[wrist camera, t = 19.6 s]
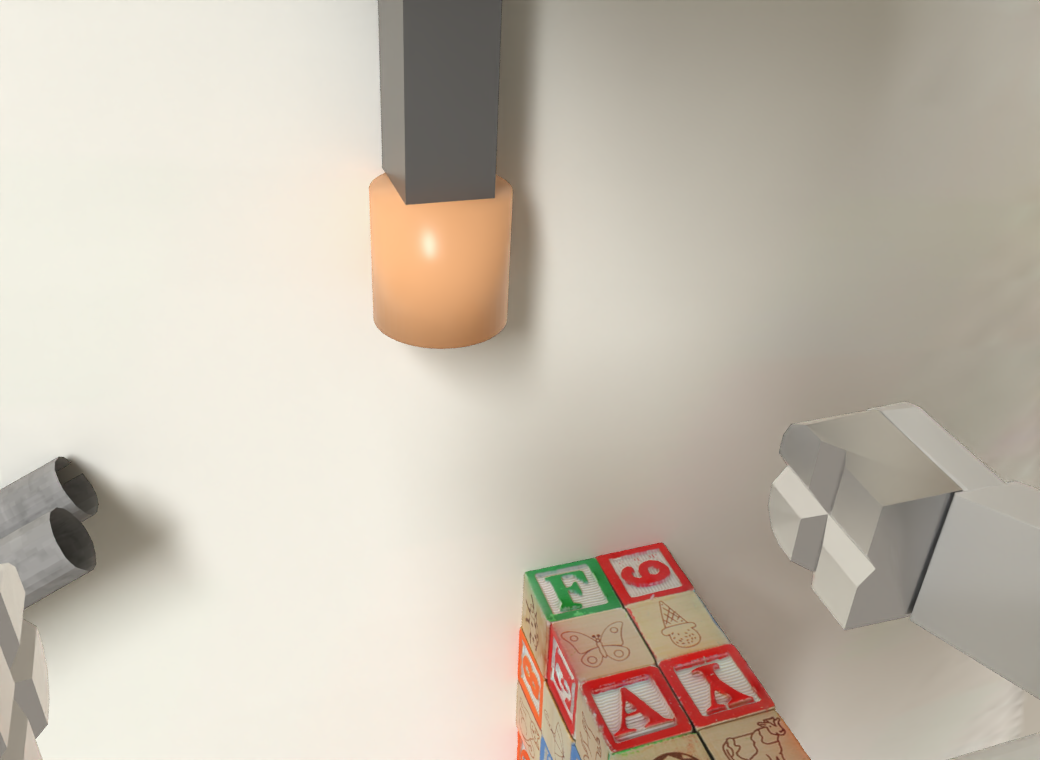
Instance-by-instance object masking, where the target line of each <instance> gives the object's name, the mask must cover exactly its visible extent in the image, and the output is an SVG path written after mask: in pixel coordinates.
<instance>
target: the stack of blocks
mask: <svg viewBox="0 0 1040 760" xmlns="http://www.w3.org/2000/svg"><path fill="white" fill-rule="evenodd" d="M516 726H517V728H518V747H517V760H811V759H810V758H809V756H808V755H807V754H806V752H805V751H804V749H803V748H802V746H801V745H800V743H799V742H798V740H797V739H796V738H795V736H794V735H793V733H792V732H791V731H790V729H789V728H788V726H787V725H786V724H785V722H784V721H783V719H782V718H781V717H780V715H779V714H778V713H777V712H776V711H775V704H774V703H773V701H772V699H771V698H770V696H769V695H768V694H767V692H766V691H765V689H764V687H763V686H762V684H761V683H760V682H759V680H758V679H757V677H756V676H755V674H754V673H753V671H752V670H751V669H750V667H749V666H748V664H747V662H746V661H745V660H744V659H743V658H742V656H741V655H740V653H739V651H738V650H737V649H736V648H735V646H733V645H732V644H731V643H730V641H729V639H728V638H727V636H726V635H725V634H724V632H723V631H722V630H721V628H720V627H719V626H718V624H717V623H716V621H715V620H714V618H713V617H712V615H711V614H710V612H709V611H708V609H707V608H706V606H705V605H704V603H703V602H702V601H701V599H700V598H699V596H698V595H697V594H696V593H695V589H694V587H693V586H692V584H691V583H690V581H689V580H688V578H687V577H686V575H685V574H684V573H683V571H682V570H681V569H680V567H679V566H678V564H677V563H676V561H675V560H674V558H673V557H672V555H671V553H670V552H669V551H668V549H667V548H666V546H665V545H664V544H663V543H657V544H653V545H648V546H643V547H638V548H634V549H629V550H624V551H620V552H615V553H610V554H606V555H601V556H597V557H595V558H591V559H586V560H582V561H577V562H572V563H567V564H562V565H557V566H552V567H548V568H543V569H538V570H533V571H528V572H525V574H524V585H523V607H522V626H521V628H520V631H519V659H518V683H517V703H516Z"/></svg>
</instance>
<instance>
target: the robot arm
mask: <svg viewBox="0 0 1040 760" xmlns="http://www.w3.org/2000/svg"><path fill="white" fill-rule="evenodd" d="M779 453H780V455H781V457H782V458H783V460H784V461H785V463H786V464H787V466H786V468H785V469H784V470H783V471H782V472H781V473H780V475H779V476H778V477H777V478H776V479H775V480H774V482H773V483H772V487H771V492H770V498H769V503H768V509H769V515H770V521H771V527H772V530H773V533H774V535H775V537H776V539H777V542H778V544H779V546H780V547H781V548H782V550H783V551H784V553H785V554H786V555H787V557H788V558H789V559H790V561H792V562H794V563H796V564H798V565H800V566H802V567H804V568H806V569H808V570H810V571H812V572H813V576H812V589H813V591H814V592H815V593H816V595H817V596H818V597H819V599H820V600H821V601H822V602H823V604H824V605H825V606H826V608H827V609H828V610H829V611H830V613H831V614H832V615H833V617H834V618H835V619H836V620H837V622H838V623H839V624H840V626H841V627H842V628H843V629H844V630H848V629H852V628H857V627H862V626H866V625H871V624H876V623H880V622H885V621H890V620H894V619H899V618H904V617H908V616H911V617H910V620H911V621H912V622H914V623H915V624H917V625H919V626H920V627H922V628H924V629H925V630H927V631H928V632H930V633H932V634H933V635H935V636H937V637H938V638H940V639H942V640H943V641H945V642H946V643H948V644H950V645H951V646H953V647H955V648H956V649H958V650H959V651H961V652H963V653H964V654H966V655H968V656H969V657H971V658H973V659H974V660H976V661H977V662H979V663H981V664H982V665H984V666H986V667H987V668H989V669H990V670H992V671H994V672H995V673H997V674H999V675H1000V676H1002V677H1003V678H1005V679H1007V680H1008V681H1010V682H1012V683H1013V684H1015V685H1017V686H1018V687H1020V688H1021V689H1023V690H1025V691H1026V692H1028V693H1030V694H1031V695H1033V696H1034V697H1036V698H1038V699H1039V700H1040V490H1039V489H1037V488H1034V487H1031V486H1029V485H1026V484H1024V483H1021V482H1018V481H1012V482H1007V483H1005V482H1004V481H1002V480H1001V479H1000V478H999V477H998V476H997V475H996V474H995V473H993V472H992V471H991V470H990V469H989V468H988V467H987V466H986V465H984V464H983V463H982V462H981V461H980V460H979V459H978V458H977V457H975V456H974V455H973V454H972V453H971V452H970V451H969V450H968V449H966V448H965V447H964V446H963V445H962V444H961V443H960V442H959V441H957V440H956V439H955V438H954V437H953V436H952V435H951V434H950V433H948V432H947V431H946V430H945V429H944V428H943V427H942V426H941V425H939V424H938V423H937V422H936V421H935V420H934V419H933V418H932V417H930V416H929V415H928V414H927V413H926V412H925V411H924V410H923V409H921V408H920V407H919V406H917V405H914V404H912V403H909V402H906V401H905V402H900V403H895V404H890V405H885V406H880V407H875V408H870V409H867V410H866V411H858V412H853V413H848V414H842V415H837V416H831V417H826V418H821V419H815V420H810V421H804V422H799V423H794V424H791V425H790V426H789V428H788V429H787V431H786V432H785V433H784V435H783V438H782V442H781V447H780V451H779ZM24 601H25V590H24V588H23V585H22V583H21V580H20V577H19V575H18V572H17V570H16V567H15V566H13V565H11V564H10V563H4V564H0V760H43V759H42V756H41V754H40V751H39V748H38V745H37V742H36V740H35V739H36V738H37V737H38V736H39V734H40V733H41V732H42V731H43V729H44V728H45V727H46V726H47V725H48V713H49V684H48V669H47V663H46V658H45V653H44V648H43V644H42V641H41V638H40V635H39V632H38V629H37V626H35V625H34V624H32V623H30V622H28V621H26V620H25V619H23V610H24ZM948 760H1040V732H1039V733H1035V734H1032V735H1029V736H1025V737H1022V738H1019V739H1015V740H1012V741H1008V742H1005V743H1002V744H998V745H995V746H992V747H988V748H985V749H981V750H978V751H975V752H971V753H968V754H965V755H961V756H958V757H955V758H951V759H948Z"/></svg>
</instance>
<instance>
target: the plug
mask: <svg viewBox="0 0 1040 760" xmlns="http://www.w3.org/2000/svg"><path fill="white" fill-rule="evenodd" d="M501 11H502V0H378V15H379V53H380V92H381V131H382V168H383V169H384V171H385V173H384V174H382V175H380V176H378V177H377V178H375V179H374V180H373V181H372V182H371V184H370V186H369V198H370V229H371V259H372V289H373V319H374V322H375V324H376V326H377V328H378V329H379V330H380V331H381V332H382V333H384V334H385V335H387V336H388V337H390V338H392V339H394V340H396V341H399V342H402V343H405V344H409V345H413V346H418V347H424V348H438V349H445V348H459V347H466V346H470V345H475V344H478V343H481V342H484V341H486V340H489V339H491V338H492V337H494V336H496V335H497V334H498V333H500V332H501V331H502V330H503V328H504V327H505V325H506V323H507V312H508V289H509V267H510V245H511V223H512V201H513V189H512V186H511V185H510V184H509V183H508V182H507V181H506V180H505V179H503V178H501V177H499V176H498V175H496V152H497V123H498V95H499V67H500V39H501Z"/></svg>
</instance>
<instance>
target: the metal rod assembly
mask: <svg viewBox="0 0 1040 760" xmlns="http://www.w3.org/2000/svg"><path fill="white" fill-rule="evenodd" d="M70 463H71V462H70V461H68V460H67V459H65V458H64V457H58V458H56V459H54V460H52V461H51V462H49V463H47V464H45V465H44V466H42V467H40V468H38V469H36V470H35V471H33V472H31V473H29V474H28V475H26V476H24V477H22V478H20V479H19V480H17V481H15V482H13V483H12V484H10V485H8V486H6V487H5V488H3V489H1V490H0V564H4V563H10V564H11V565H13V566H15V567H16V570H17V572H18V575H19V577H20V580H21V583H22V585H23V588H24V590H25V601H24V609H25V608H27V607H29V606H30V605H32V604H34V603H36V602H37V601H39V600H41V599H43V598H44V597H46V596H48V595H50V594H51V593H53V592H55V591H57V590H58V589H60V588H62V587H64V586H65V585H67V584H69V583H71V582H72V581H74V580H76V579H78V578H79V577H81V576H83V575H85V574H86V573H88V572H90V571H92V570H93V569H94V567H95V565H96V555H95V551H94V546H93V542H92V540H91V538H90V536H89V534H88V532H87V531H86V529H85V527H84V526H83V525H82V523H81V522H82V521H84V520H86V519H88V518H89V517H91V516H93V515H94V514H95V513H96V512H97V509H98V500H97V496H96V493H95V491H94V489H93V487H92V485H91V484H90V483H89V482H88V480H87V479H86V478H85V476H84V475H83V474H81V475H79V476H78V477H76V478H74V479H72V480H71V481H69V482H67V483H65V484H64V485H62V486H61V484H60V482H59V480H58V477H57V475H56V471H58V470H60V469H62V468H63V467H65V466H67V465H69V464H70Z"/></svg>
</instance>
